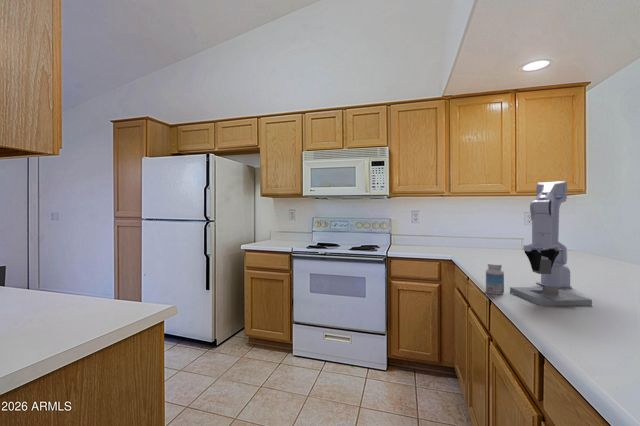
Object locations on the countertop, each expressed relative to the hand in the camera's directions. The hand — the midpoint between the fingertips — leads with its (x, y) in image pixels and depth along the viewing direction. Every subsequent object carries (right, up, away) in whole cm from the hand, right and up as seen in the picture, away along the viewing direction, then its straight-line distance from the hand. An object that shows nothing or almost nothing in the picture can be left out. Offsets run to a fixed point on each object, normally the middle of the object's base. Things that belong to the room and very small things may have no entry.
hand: (541, 270), depth 107 cm
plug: (0, -1, 0) cm, 1 cm away
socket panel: (+2, -10, -1) cm, 10 cm away
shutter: (0, -8, -7) cm, 11 cm away
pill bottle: (-13, -10, +7) cm, 18 cm away
